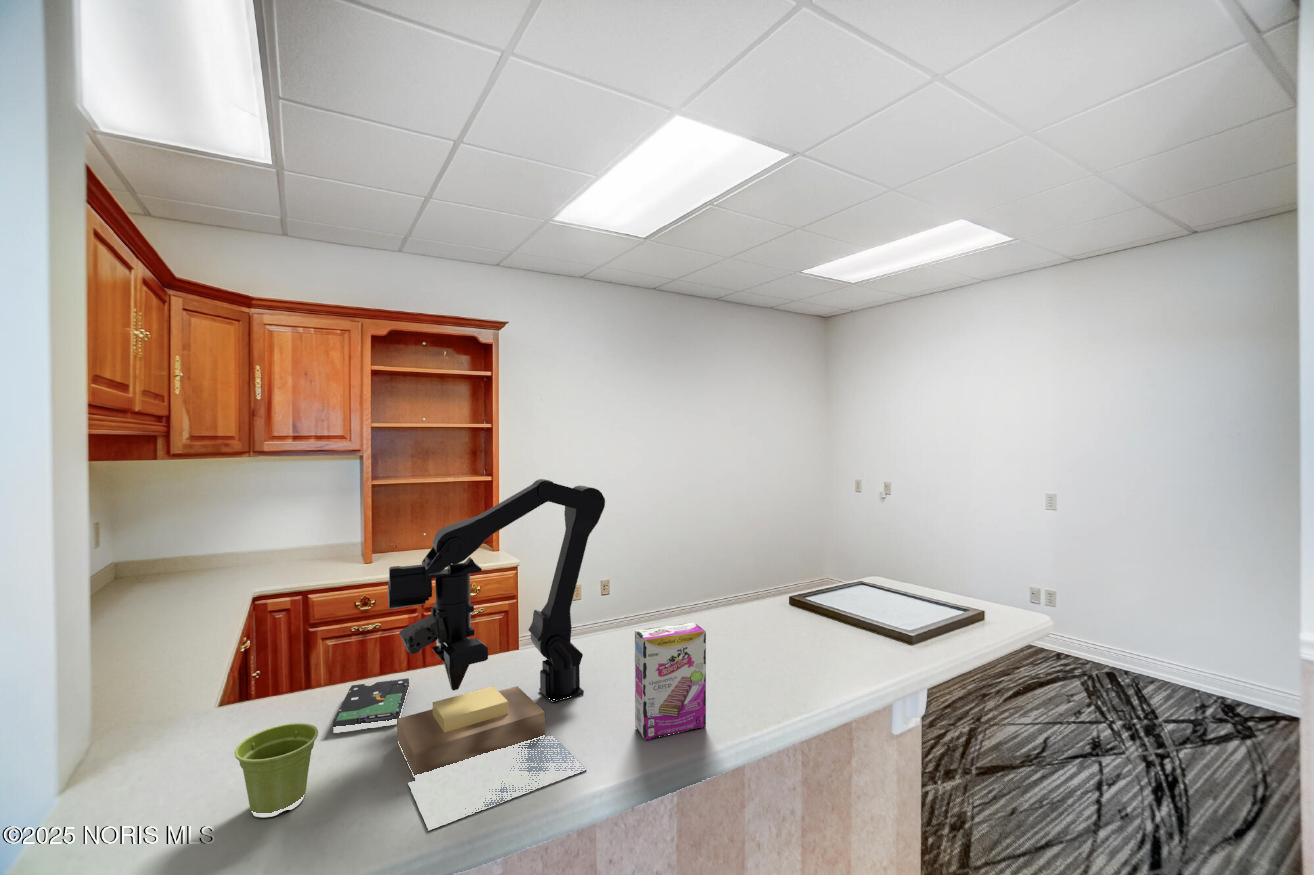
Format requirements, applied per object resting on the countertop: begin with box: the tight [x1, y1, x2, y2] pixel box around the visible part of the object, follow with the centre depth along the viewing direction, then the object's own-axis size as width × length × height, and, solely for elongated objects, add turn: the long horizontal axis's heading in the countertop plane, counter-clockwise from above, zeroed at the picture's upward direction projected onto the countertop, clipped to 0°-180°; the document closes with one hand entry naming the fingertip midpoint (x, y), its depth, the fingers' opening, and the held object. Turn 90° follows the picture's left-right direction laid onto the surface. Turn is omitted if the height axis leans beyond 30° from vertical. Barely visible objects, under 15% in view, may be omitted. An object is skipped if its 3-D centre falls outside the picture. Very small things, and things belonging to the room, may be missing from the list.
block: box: [432, 686, 508, 733], centre depth 94 cm, size 10×7×2 cm
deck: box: [396, 685, 546, 776], centre depth 93 cm, size 20×12×4 cm, turn 125°
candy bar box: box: [634, 622, 707, 741], centre depth 96 cm, size 11×5×16 cm, turn 111°
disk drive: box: [332, 677, 410, 728], centre depth 104 cm, size 10×3×15 cm
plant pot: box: [234, 722, 319, 813], centre depth 78 cm, size 9×9×9 cm
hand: (454, 689), depth 101 cm, fingers closed
